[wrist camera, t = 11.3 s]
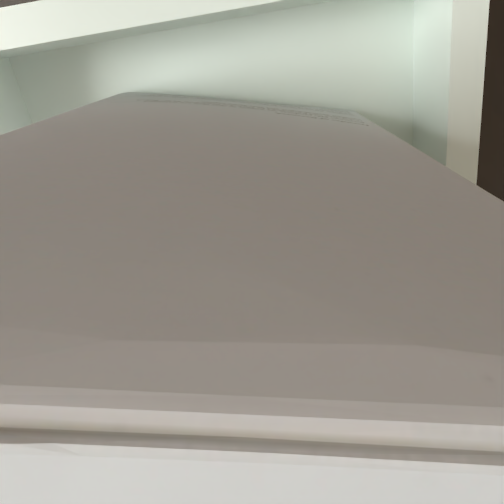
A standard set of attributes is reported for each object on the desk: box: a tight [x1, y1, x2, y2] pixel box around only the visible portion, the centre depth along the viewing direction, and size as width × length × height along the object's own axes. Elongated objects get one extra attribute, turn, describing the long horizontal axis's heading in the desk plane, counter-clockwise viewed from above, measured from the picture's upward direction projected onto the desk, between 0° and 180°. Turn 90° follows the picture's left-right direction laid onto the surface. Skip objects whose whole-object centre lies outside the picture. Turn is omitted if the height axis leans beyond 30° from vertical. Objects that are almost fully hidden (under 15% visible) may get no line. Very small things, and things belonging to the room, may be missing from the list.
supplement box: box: [0, 92, 504, 504], centre depth 11 cm, size 9×9×15 cm
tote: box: [0, 0, 490, 184], centre depth 16 cm, size 16×16×4 cm
